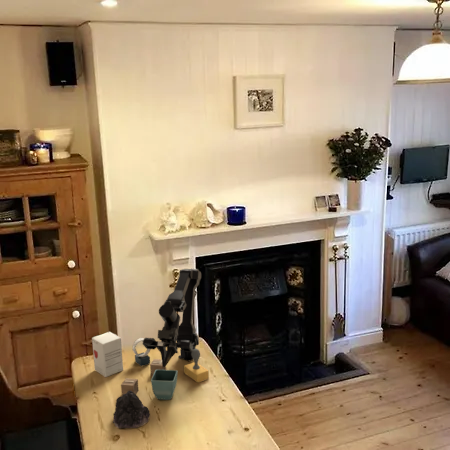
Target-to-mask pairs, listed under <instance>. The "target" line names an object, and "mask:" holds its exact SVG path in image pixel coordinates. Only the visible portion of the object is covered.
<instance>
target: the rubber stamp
mask: <svg viewBox="0 0 450 450" xmlns="http://www.w3.org/2000/svg"><path fill="white" fill-rule="evenodd" d="M191 355H192V358H193V359H192V361H193V362H190V363H188V364H185V365H183V366H184V367H183V369H184V371H183V373H184V374H185V375H186V376H188V377H189V378H190V379H192V381H193V380H194V381H195V382H196V383H201V382H203V381H207V380H209V378H210V377H209V376H210V375H209V370H208V369H207V368H205V367H204V366H202V365H201V364H200V363H199V360H200V357H201V352H200V350H199V349H198V348H196V349H193V351H192V353H191Z"/></svg>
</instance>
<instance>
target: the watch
mask: <svg viewBox="0 0 450 450" xmlns="http://www.w3.org/2000/svg"><path fill="white" fill-rule="evenodd" d="M145 338H146V337H139V338H137V339H136V340H135V341H134V342H133V344H132V352H133V353H134V354H135V355H134V362H135V363H136V364H137V365H138V366H140V367H145V366H146V365H149V364H151V357H150V356H149V354H150V353H151V350H152V349H146V351H145V352H140V353H138V351H137V348H136V347H137V345H138V344H139V343H140V342H142V343H143V340H144V339H145Z"/></svg>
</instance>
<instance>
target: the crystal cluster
mask: <svg viewBox="0 0 450 450" xmlns="http://www.w3.org/2000/svg"><path fill="white" fill-rule="evenodd" d="M115 401H116V402H115V409H114V413H113V421H112V422H113V424H114V426H115V427H116V428H117V429H122V428H123V429H125V428H126V429H131V428H140V427H142V426H144V425H145V424H146V423H148V422H149V420H150V417H151V413H150V410H149V408H148V406H145V405H144V403H143V402H142V401H141V400H140V397H139V396H138V395H137V394H135V393H134V392H132V391H128V392H127V393H126V394H123V395H122V394H121V396H118V397H117V398H116V400H115Z"/></svg>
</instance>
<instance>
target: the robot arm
mask: <svg viewBox="0 0 450 450" xmlns="http://www.w3.org/2000/svg"><path fill="white" fill-rule="evenodd" d="M201 279H202V272H201V271H200V270H199V269H198V268H182V269H180V270H179V275H178V279H177V282H176V284H175V287H174V290H173V292H171V293H169V294H168V297H167V298H166V299H165V301H164V303H163V304H162V305H161V306H160V307H159V309H158V314H159V316H160V318H161V320H162V321H163V322H164V325H163V326H162V328H161V329H158V330H157V339H158V340H159V341H156V338H154V337H144V338H145V339H144V340H143V342H142V345H143V347H144V348H145V349H146V350H147V349H151V350H155V349H157V350H158V351H159V353H160V355H161V358H160V359H161V360H162V365H163V367H166V368H167V366H168V363H169V362H170V361H171V359H173V356H175V354H178V353H179V352H180V355H178V358H179V359H181V360H184V361H188V362H191V361H193V358H192V355H191V353H192V351H193V349H197V348H196V347H197V346H199V344H200V339H199V338H200V337H199V336H198V334H197V333H196V332H197V328H195V325H194V323H193V322H194V312H195V311H194V309H195V297H196V296H195V295H196V289H197V288H198V286H199V285H200V282H201ZM179 313H182V320H181V316H180V314H179ZM180 321H181V323H180ZM178 349H180V351H179V352H178Z"/></svg>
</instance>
